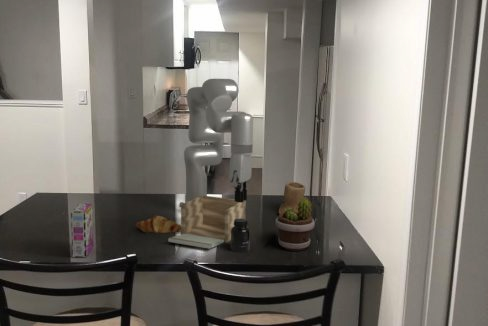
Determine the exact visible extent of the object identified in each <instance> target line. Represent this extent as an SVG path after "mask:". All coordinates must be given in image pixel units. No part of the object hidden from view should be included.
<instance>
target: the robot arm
mask: <svg viewBox="0 0 488 326" xmlns="http://www.w3.org/2000/svg"><path fill="white" fill-rule="evenodd" d="M238 94H239V85H238V84H237V82H236V80H234V79H232V78H209V79H207V80H205V81H204V82H203V83H202V85H201V86H193V87H190V88H189V89H188V90H187V92H186V104H187V107H188V111H189V115H188V116H189V117H188V140H189V141H190V142H191V143H192V144H194V145H189V146H187V147H185V149H184V150H183V159H184V166H185V202H184V201H180V202H179V207H178V208H181V205H182V204H184V203H186V202H188V201H190V200H193V199H195V198H197V197H199V196H201V195H203V196H208V177H207V172H205V171H204V169H203V168H202V167H209V166H217V165H219V164H221V163H222V160H223V153H224V142H225V141H224V140H225V133H230V158H229V159H230V160H229V168H228V182H229V183H232V187H233V189H234V199H235V202H244V201H246V202H247V201H248V200H247V199H248V184H249V181H250V179H251V178H252V171H253V168H252V165H253V163H252V155H253V143H254V142H253V141H254V140H253V138H254V116H253V115H252V114H250V113H246V112H245V111H231V110H230V109H231V107H232V105H233V102H234V101H235V100H236V99H237V98H238ZM229 110H230V111H229Z"/></svg>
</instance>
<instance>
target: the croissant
mask: <svg viewBox="0 0 488 326" xmlns="http://www.w3.org/2000/svg"><path fill="white" fill-rule="evenodd" d="M135 226H136V228H138V229H140V230H141V231H142V232H143V233H156V234H160V233H161V234H163V233H164V234H165V233H181V224H179V223H176V221H175V220H173V219H167V218H166V217H164V216H161V215H154V216H153V217H152V218H148V219H147V220H141V221H139V222H137V221H136V223H135Z"/></svg>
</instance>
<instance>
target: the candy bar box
mask: <svg viewBox="0 0 488 326" xmlns="http://www.w3.org/2000/svg"><path fill="white" fill-rule="evenodd" d="M93 213H94V211H93V203H78V204H77V205H76V206H75V208H74V209H72V210H71V211H70V222H71V223H70V224H71V225H70V226H71V254H72V255H71V256H72V258H75V257H84V258H87V257H88V255H89V254H88V253H90V252H91V251H92V249H93V248H94V225H93V223H94V222H93V221H94V219H93V218H94V217H93V216H94V215H93ZM92 247H93V248H92ZM90 250H91V251H90Z"/></svg>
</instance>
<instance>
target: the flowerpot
mask: <svg viewBox="0 0 488 326" xmlns="http://www.w3.org/2000/svg"><path fill="white" fill-rule="evenodd" d="M302 197H303V196H302ZM297 205H298V206H297V207H298V208H297V209H298V210H297V211H299V212H295V211H294V209H292V208H291V209H289V208H288V209H286V211H285V213H281V214H279V215H278V216H277V217H276V219H275V220H274V221H275V224H274V225H275V227H276V228H277V232H278V238H277V239H278V241H277V242H278V243H279V245H280V248H283V249H285V250H286V251H291V252H292V251H293V252H301V251H304V250H306V249H307V248H308V247H309V246H310V244H311V238H310V236H311V233H312V230H313V229H315V225H316V224H315V219H314V218H313V217H312V211H313V207H312V206H313V203H312V201H310V199H309V198H308V197H307V196H304V197H303V199H301V201H300V200H299V203H298V204H297ZM295 209H296V208H295Z"/></svg>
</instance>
